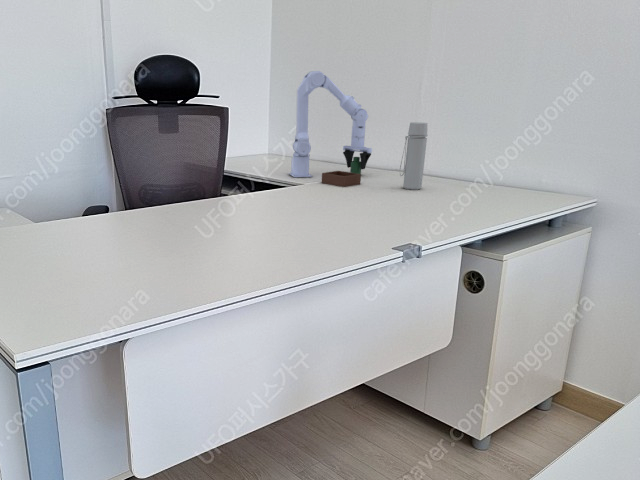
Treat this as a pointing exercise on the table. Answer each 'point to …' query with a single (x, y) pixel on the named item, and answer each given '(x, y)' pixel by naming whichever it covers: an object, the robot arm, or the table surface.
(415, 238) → the table surface
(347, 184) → the tray
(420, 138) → the water bottle
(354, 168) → the green bottle
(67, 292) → the table surface
